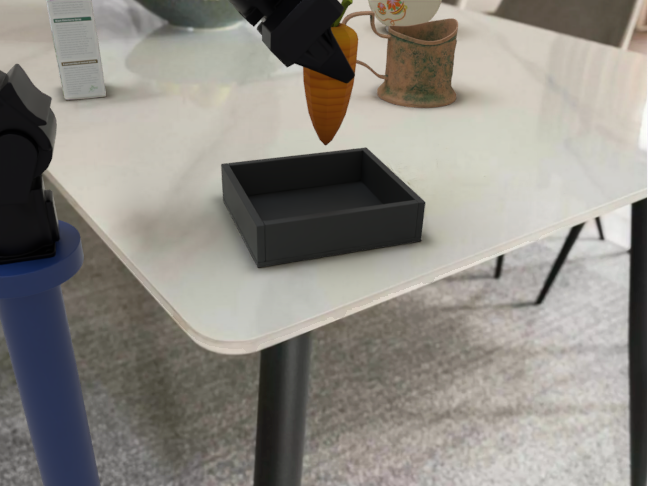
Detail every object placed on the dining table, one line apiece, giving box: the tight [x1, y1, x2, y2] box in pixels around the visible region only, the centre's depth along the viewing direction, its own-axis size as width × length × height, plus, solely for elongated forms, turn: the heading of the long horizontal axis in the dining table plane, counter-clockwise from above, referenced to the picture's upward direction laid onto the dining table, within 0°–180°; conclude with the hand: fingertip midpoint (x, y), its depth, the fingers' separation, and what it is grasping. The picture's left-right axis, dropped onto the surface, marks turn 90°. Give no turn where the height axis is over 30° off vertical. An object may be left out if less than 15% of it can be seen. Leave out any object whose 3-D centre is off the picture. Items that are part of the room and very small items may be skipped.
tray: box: [220, 147, 426, 268], centre depth 64 cm, size 15×13×4 cm
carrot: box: [302, 0, 359, 146], centre depth 62 cm, size 5×5×15 cm
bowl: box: [367, 0, 443, 33], centre depth 133 cm, size 16×16×10 cm
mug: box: [341, 10, 459, 109], centre depth 96 cm, size 12×18×12 cm, turn 104°
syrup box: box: [45, 0, 107, 101], centre depth 93 cm, size 6×6×14 cm
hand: (343, 71), depth 63 cm, fingers closed on carrot, 5 cm apart
